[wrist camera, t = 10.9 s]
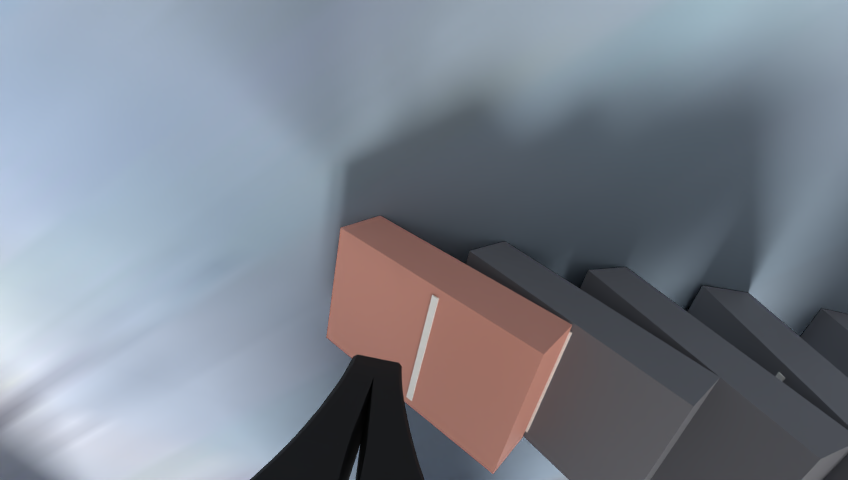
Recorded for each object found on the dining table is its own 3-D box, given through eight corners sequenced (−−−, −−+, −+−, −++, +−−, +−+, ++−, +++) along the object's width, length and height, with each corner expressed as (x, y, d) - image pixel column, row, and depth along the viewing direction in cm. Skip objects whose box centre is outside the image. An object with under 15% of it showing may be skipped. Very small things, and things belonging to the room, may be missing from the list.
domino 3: (646, 379, 20) (782, 591, 13) (701, 285, 17) (904, 480, 10) (689, 385, 20) (846, 595, 13) (749, 292, 18) (978, 487, 11)
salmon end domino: (325, 337, 18) (492, 475, 14) (339, 227, 16) (543, 354, 12) (363, 317, 20) (522, 437, 16) (380, 215, 17) (573, 324, 13)
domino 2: (544, 370, 19) (713, 574, 13) (587, 270, 17) (819, 459, 11) (581, 362, 20) (756, 549, 14) (627, 266, 18) (861, 439, 11)
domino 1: (438, 356, 18) (614, 524, 14) (468, 250, 16) (692, 406, 11) (473, 340, 20) (644, 488, 15) (505, 241, 18) (720, 377, 13)
